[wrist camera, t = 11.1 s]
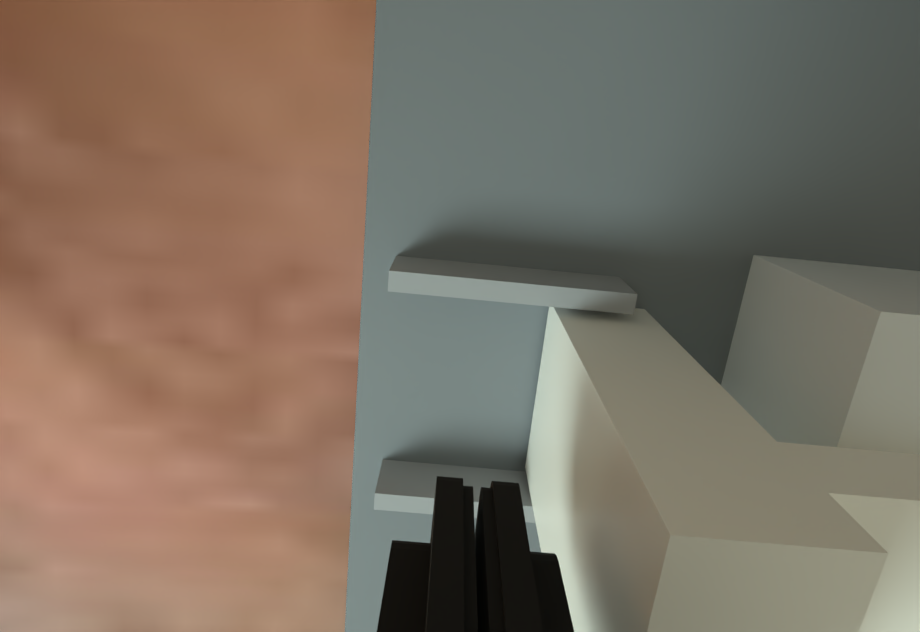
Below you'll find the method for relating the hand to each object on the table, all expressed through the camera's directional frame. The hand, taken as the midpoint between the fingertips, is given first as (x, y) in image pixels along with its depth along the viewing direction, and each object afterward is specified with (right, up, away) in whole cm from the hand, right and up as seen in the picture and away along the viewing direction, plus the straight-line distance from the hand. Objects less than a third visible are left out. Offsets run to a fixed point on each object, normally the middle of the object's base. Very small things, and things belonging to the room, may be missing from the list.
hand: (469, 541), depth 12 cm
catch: (+6, +2, +8) cm, 10 cm away
